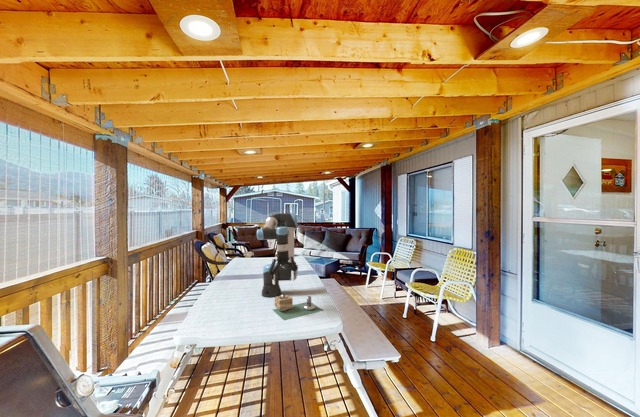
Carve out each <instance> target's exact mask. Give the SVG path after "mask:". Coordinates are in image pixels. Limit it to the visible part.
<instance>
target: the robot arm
mask: <svg viewBox="0 0 640 417" xmlns="http://www.w3.org/2000/svg"><path fill="white" fill-rule="evenodd" d="M297 218H298V217H297V214H296V213H295V212H294V213H293V212H292V213H291V212H289V213H288V212H285V213H284V212H283V213H281V212H279V213H274V214H272V215H269V216H268V217H267V219H266V220H265V224H264V226H263V227H262V228H258V229H257V230H256V238H257V240H259V241H260V240H261V241H266V240H267V241H270V240H273V241H274V240H276V250H277V251H276V258H272V260H271V261H272V262H271V263H269V264H266V265H264V266H263V268H262V269H263V270H262V271H263V272H262V274H263V279H262V280H263V286H262V288H261V296H262V297H263V298H275V297H277V296H281V295H282V289H281V286H280V282H283V281H293V282H294V281H296V280H297V279H298V278H297V277H298V270H299V266H298V264H297V262H296V261H295V231H296V230H297V228H298V226H299V225H298V219H297Z"/></svg>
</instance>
